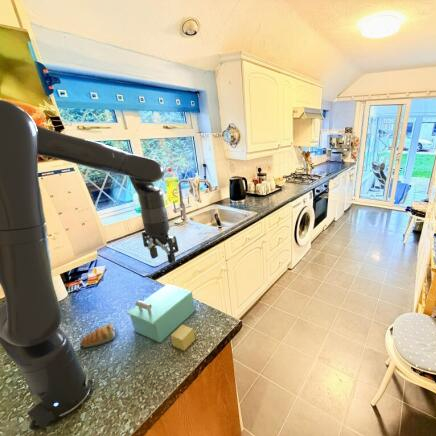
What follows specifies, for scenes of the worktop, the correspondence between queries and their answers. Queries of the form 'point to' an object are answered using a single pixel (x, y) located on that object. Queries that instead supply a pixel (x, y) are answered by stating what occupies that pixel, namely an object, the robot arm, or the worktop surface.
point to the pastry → (99, 336)
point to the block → (183, 337)
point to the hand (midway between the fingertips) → (163, 259)
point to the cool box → (165, 321)
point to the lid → (159, 303)
